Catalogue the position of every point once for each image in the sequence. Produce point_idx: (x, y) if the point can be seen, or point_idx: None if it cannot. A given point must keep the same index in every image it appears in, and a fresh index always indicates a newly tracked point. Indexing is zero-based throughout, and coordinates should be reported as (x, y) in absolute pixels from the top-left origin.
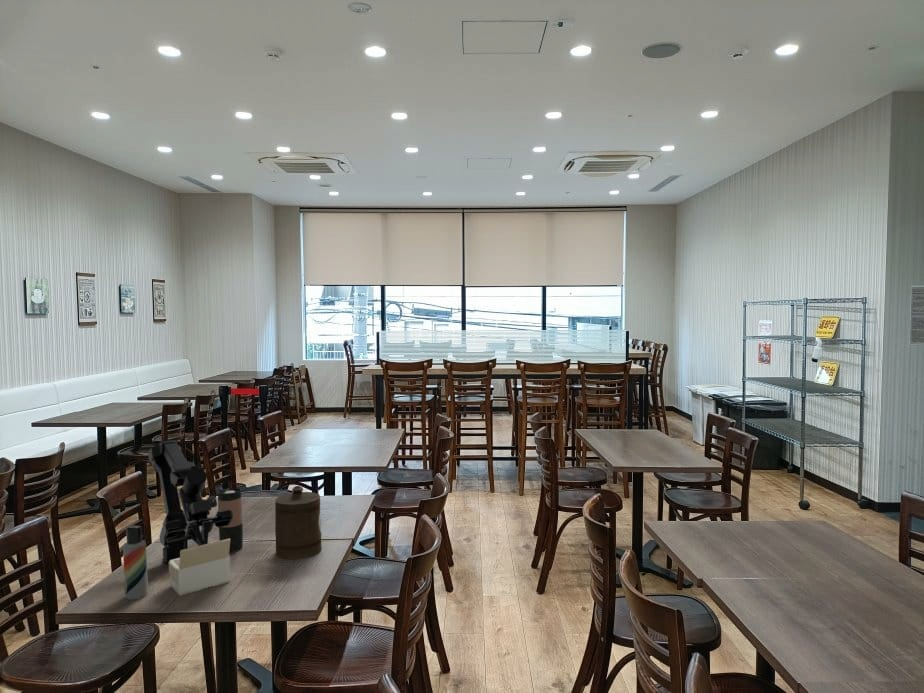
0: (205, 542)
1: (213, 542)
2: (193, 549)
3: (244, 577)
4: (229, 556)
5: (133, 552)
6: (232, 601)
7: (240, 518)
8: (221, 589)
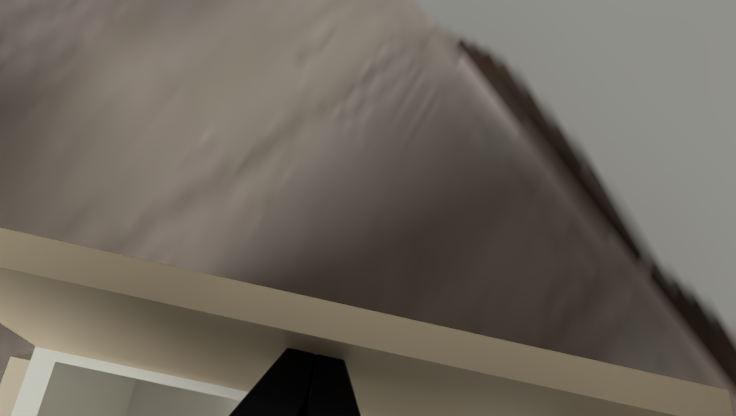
0: (287, 403)
1: (184, 302)
2: (528, 352)
3: None
4: (22, 355)
5: None
6: (318, 52)
7: None
8: (255, 257)
